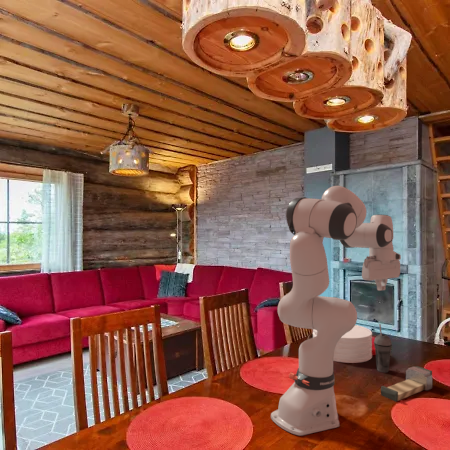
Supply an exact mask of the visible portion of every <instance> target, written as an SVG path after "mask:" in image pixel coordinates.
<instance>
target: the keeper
mask: <svg viewBox="0 0 450 450" xmlns="http://www.w3.org/2000/svg"><path fill="white" fill-rule="evenodd" d="M408 379H411V380H413V381H416V382H419V383H422V384H424V390H423V391H430V390H431V389H433V374H432V375H430V372H429V371H426V370H423V369H420V368H417V367H416V366H411V367H408V368H407V369H406V370H405V380H408Z"/></svg>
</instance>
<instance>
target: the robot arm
mask: <svg viewBox="0 0 450 450" xmlns="http://www.w3.org/2000/svg"><path fill="white" fill-rule="evenodd" d="M366 217H367V208H366V205H365V203H364V202H363V200H361V199H360V197H359V196H357V195H356V193H354V192H353V191H352V190H350V189H349V188H347V187H344V186H341V185H333V186H330V187H328V188H327V189H325V191H324V192H323V194H322V195H321V198H320V199H319V198H309V197H304V196H302V197H295V198H293V199H292V200H291V201H290V202H289V204H288V205H287V207H286V210H285V219H286V224H287V226H288V229H289V232H290V233H291V234H292V235H293V236H292V237H291V239H290V241H289V264H290V268H291V276H292V288H291V290H290V291H289V292H288V293H287V294H285V295H284V296H282V297H281V298H280V300H279V302H278V305H277V314H278V317H279V320H280V321H281V322H282V323H283V324H285V325H289V326H291V327H295V328H302V329H308V330H313V329H314V330H317V336H316V337H314V338H313V337H310V338H308V339H306V340H304V341H303V342H301V343H300V345H299V348H298V368H297V371H296V373H294V372H291V371H290V373H289V374H288V378H289V379H291V380H292V381H294V382H293V383H292V384H291V385H290V386H289V388H288V389H287V390H286V391H285V392H284V393H283V394H282V395H281V396H280V397H279V402H278V409H276V410H274V411H272V412H271V413H270V419H271V420H272V422H274V423H275V424H276V425H277V426H278V427H279V428H281V429H283V430H284V431H286V432H287V433H291V434H293V435H296V436H299V437H300V436H301V437H302V436H307V435H310V434H313V433H318V432H322V431H327V430H331V429H335V428H339V427H340V420H339V414H338V410H337V402H336V401H337V400H336V395H335V388H334V386H335V380H336V379H335V378H336V377H335V372H334V361H333V357H334V350H335V347H336V344H337V342H338V341H339V339H340V338H341V337H342V336H343V335H344V334H346V333H347V332H349V331H350V330H352V329H353V327H354V326H355V325H356V324H357V321H358V312H357V310H356V307H355V305H354V304H353V303H352V302H351V301H350V300H347V299H343V298H340V297H335V296H334V297H333V296H323V295H322V294H323V293H324V292H326V290H327V289H328V288H329V285H330V276H329V275H330V273H329V265H328V258H327V254H326V250H325V246H324V238H327V239H332V240H334V241H335V240H336V241H339V242H340V244H341V245H342V246H343V247H345V248H346V249H347V248H349V249H353V248H361V249H363V248H364V249H369V250H368V251H369V254H368V255H367V256H366V257H365V258H364V260H363V263H362V270H361V278H362V279H363V280H364V281H368V282H370V281H374V283H375V284H376V290H377V291H379V292H380V291H386V286H387V284H388V279H394V278H399V277H400V275H401V261H400V260H401V258H402V255H401V254H400V253H398V252H396V251H394V245H393V240H394V224H393V219H392V217H391V216H389V215H388V214H373V215H372V216H371V217H370V222H365V220H366Z"/></svg>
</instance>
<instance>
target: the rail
mask: <svg viewBox="0 0 450 450" xmlns="http://www.w3.org/2000/svg"><path fill="white" fill-rule="evenodd" d="M415 367H417V368H420V369H423V370H426V371H429V372H430V375H432V376H433V370H430V369H427V368H424V367H421V366H418V365H416V366H415ZM422 391H425V390H424V384H422V383H419V382H416V381H413V380H411V379H408V380H406V379H405V380H403V381H400V382H397V383H395V384H393V385H389V386H387V387H386V386H384V385H381V386H380V396H382V397H384V398H387V399H389V400H391V401H394V402H398V401H400V400H404V399H405V398H408V397H410V396H412V395H415V394H417V393H421V392H422Z"/></svg>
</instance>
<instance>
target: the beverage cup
mask: <svg viewBox="0 0 450 450" xmlns="http://www.w3.org/2000/svg"><path fill="white" fill-rule="evenodd" d="M381 327H382V326H381V324H380V323H379V334H378V335H376V336H375V338H374V341H373V346H374V350H375V363H376V370H377V372H380V373H388V372H389V369H390V359H391V350H392V346H393V345H392V344H393V343H392V340H391V339H390V337H389V336H388V335H386V334H384V333H382V328H381Z"/></svg>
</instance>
